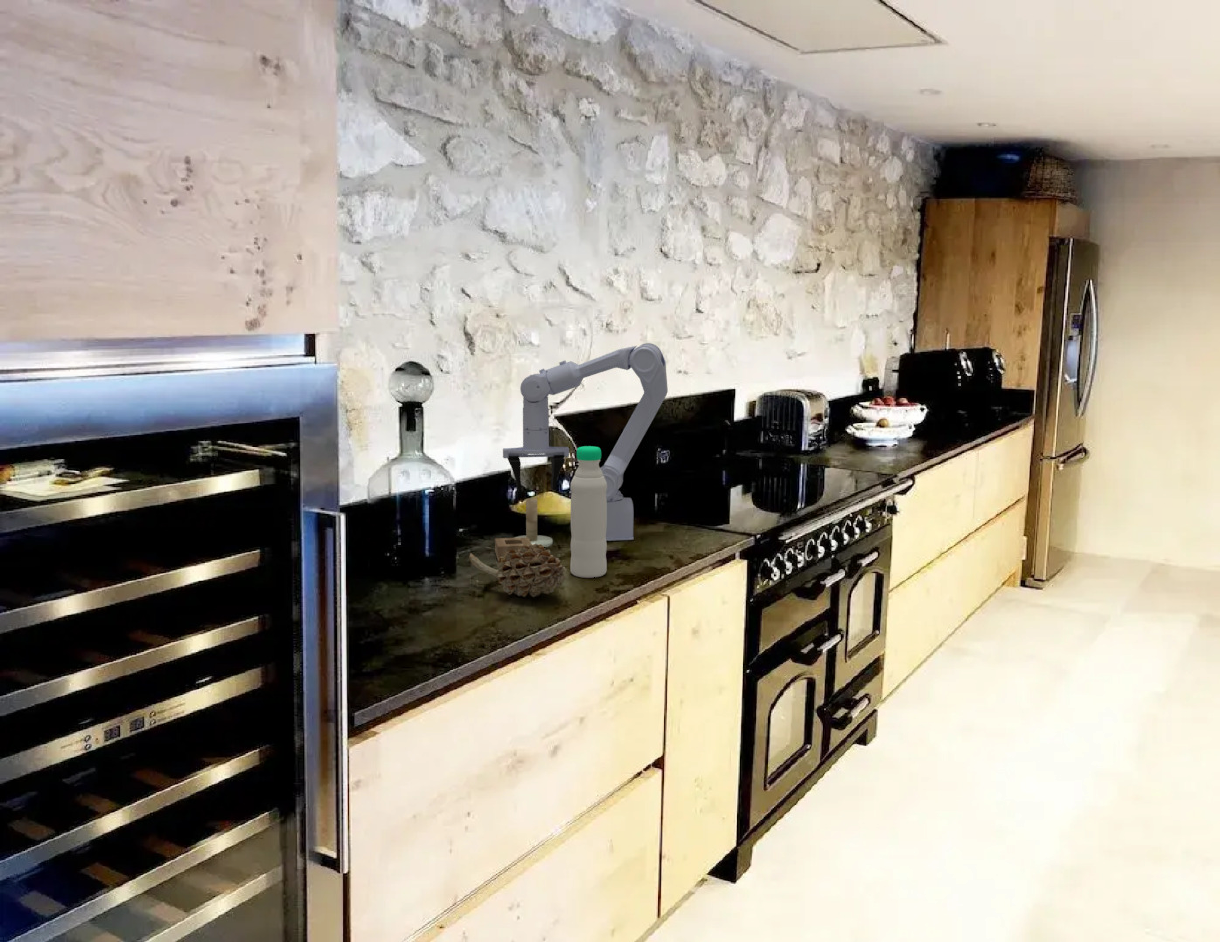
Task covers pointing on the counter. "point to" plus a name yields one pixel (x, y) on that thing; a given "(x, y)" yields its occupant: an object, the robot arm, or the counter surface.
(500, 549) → the holder
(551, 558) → the pine cone
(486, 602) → the counter surface
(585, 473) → the water bottle
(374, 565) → the counter surface
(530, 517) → the pin
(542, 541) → the coaster
